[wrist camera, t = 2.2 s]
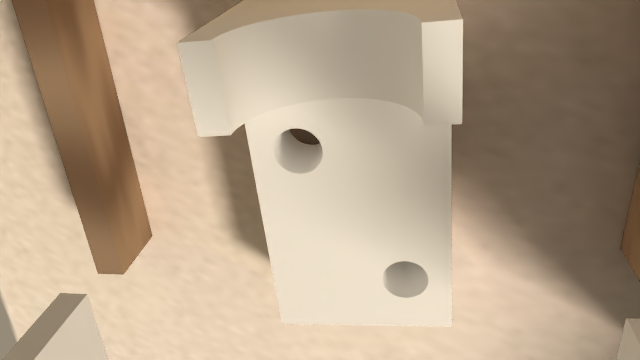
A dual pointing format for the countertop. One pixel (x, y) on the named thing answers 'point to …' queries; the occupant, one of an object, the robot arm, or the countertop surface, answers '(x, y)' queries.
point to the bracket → (342, 147)
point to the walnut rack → (119, 132)
